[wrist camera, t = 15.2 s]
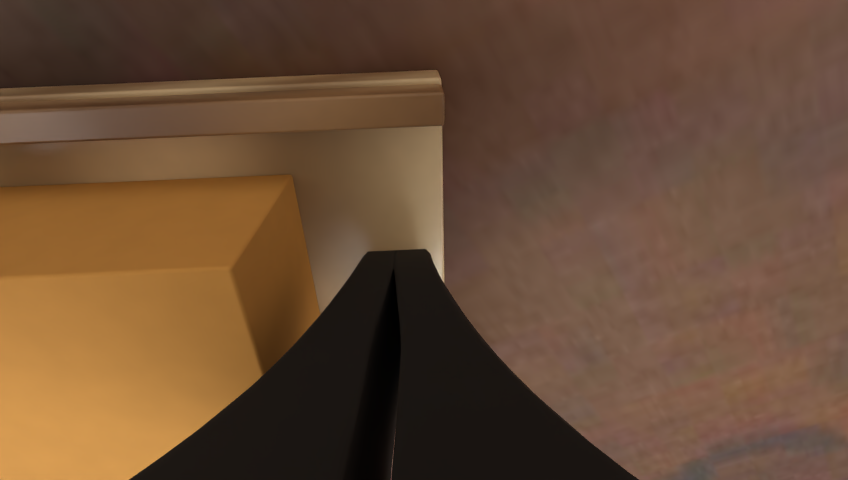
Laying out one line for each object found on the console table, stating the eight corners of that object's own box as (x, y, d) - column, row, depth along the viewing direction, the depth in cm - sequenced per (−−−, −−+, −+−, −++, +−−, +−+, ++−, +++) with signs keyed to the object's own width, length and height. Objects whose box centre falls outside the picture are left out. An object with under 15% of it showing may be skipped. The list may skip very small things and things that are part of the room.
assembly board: (438, 69, 9) (444, 85, 7) (443, 363, 13) (448, 413, 11) (-394, 104, 9) (-567, 128, 7) (-118, 389, 13) (-191, 443, 11)
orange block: (292, 173, 9) (231, 267, 6) (328, 351, 11) (298, 482, 8) (-50, 187, 9) (-291, 290, 6) (62, 364, 11) (-65, 500, 8)
